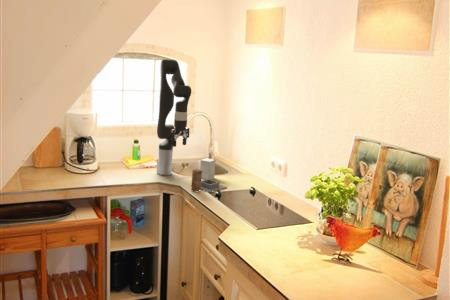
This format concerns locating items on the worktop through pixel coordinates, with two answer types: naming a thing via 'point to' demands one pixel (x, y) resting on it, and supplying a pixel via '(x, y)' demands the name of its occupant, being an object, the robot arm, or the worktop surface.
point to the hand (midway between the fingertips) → (179, 145)
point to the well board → (211, 185)
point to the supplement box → (207, 168)
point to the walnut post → (196, 180)
